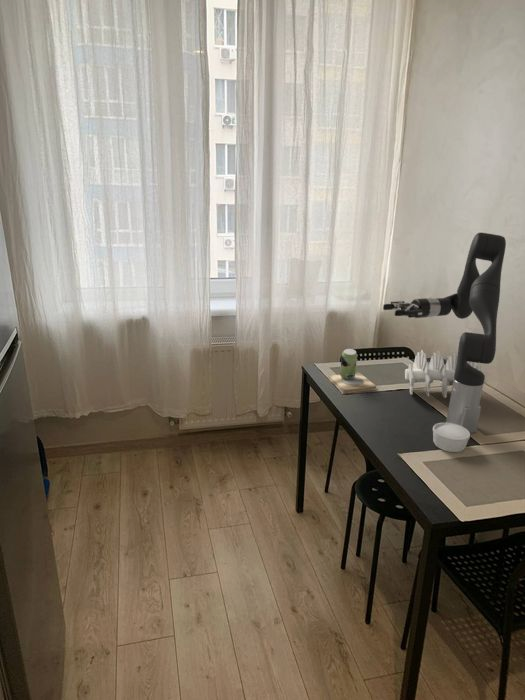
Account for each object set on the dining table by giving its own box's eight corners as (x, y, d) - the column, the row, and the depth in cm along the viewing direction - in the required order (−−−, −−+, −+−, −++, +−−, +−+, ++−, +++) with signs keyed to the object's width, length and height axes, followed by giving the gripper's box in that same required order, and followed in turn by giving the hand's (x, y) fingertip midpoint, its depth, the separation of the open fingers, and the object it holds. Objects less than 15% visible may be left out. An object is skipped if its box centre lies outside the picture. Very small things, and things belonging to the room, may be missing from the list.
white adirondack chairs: (401, 397, 203) (467, 399, 200) (409, 397, 185) (481, 399, 182) (402, 351, 205) (467, 353, 202) (409, 347, 187) (480, 348, 184)
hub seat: (375, 389, 199) (376, 385, 199) (343, 393, 195) (343, 388, 195) (359, 375, 212) (359, 371, 211) (328, 378, 208) (328, 374, 207)
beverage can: (352, 374, 208) (355, 346, 204) (356, 381, 201) (359, 353, 197) (337, 374, 208) (340, 346, 204) (341, 381, 201) (343, 353, 197)
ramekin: (438, 432, 169) (440, 418, 167) (472, 444, 162) (475, 429, 161) (424, 445, 161) (427, 431, 159) (460, 458, 154) (463, 443, 152)
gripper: (416, 294, 207) (381, 296, 202) (437, 303, 194) (400, 305, 189) (414, 312, 209) (379, 314, 204) (434, 322, 196) (398, 324, 192)
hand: (389, 310), depth 197 cm, fingers open, 8 cm apart
